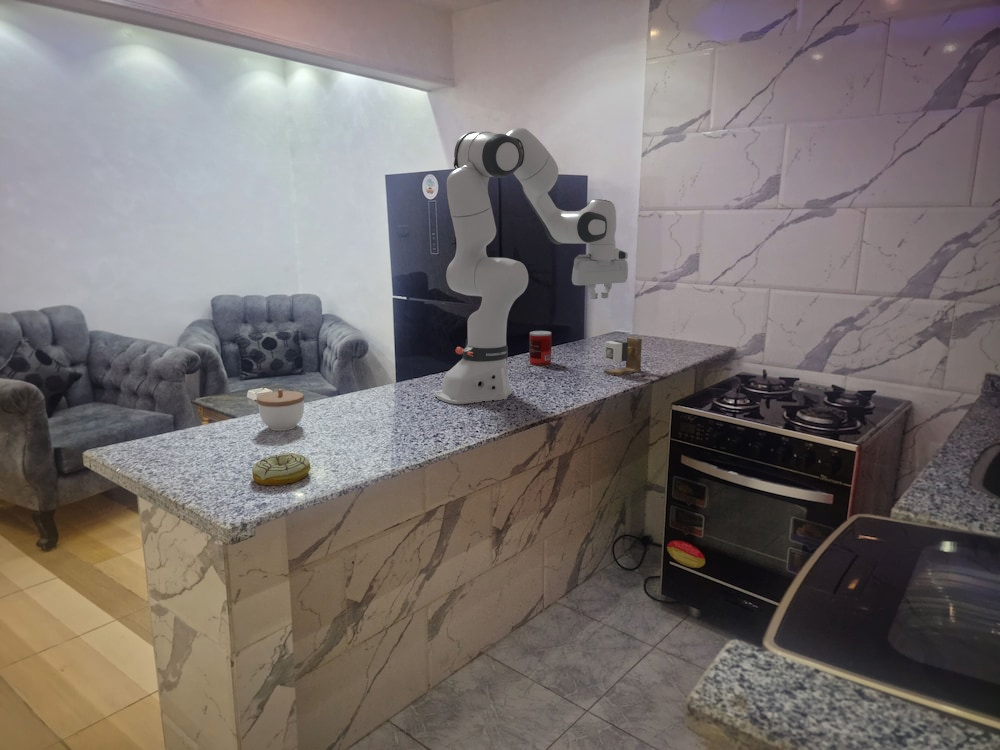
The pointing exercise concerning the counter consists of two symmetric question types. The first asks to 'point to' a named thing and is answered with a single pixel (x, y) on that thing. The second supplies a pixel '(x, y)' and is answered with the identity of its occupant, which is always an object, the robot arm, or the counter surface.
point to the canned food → (540, 347)
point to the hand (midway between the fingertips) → (599, 298)
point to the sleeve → (616, 351)
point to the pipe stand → (629, 357)
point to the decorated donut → (281, 469)
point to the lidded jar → (281, 409)
